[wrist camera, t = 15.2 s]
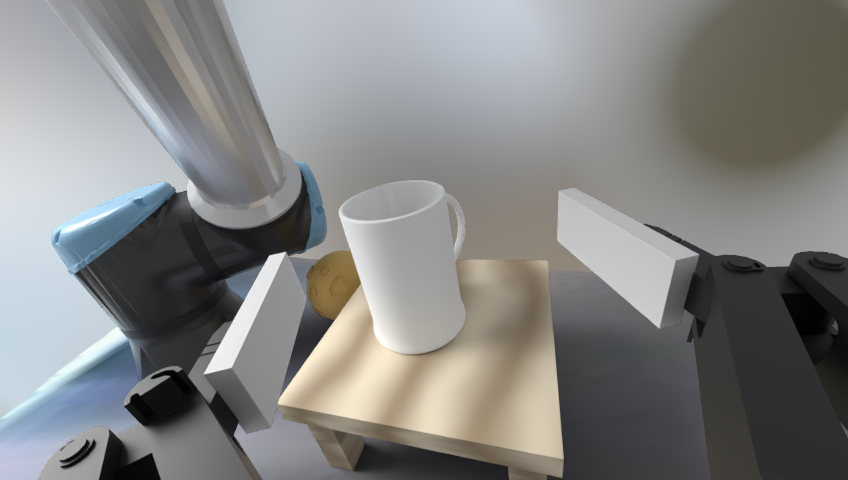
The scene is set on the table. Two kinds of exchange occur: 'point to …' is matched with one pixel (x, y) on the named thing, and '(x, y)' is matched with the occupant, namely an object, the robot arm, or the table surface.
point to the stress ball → (332, 283)
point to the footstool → (444, 379)
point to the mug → (407, 263)
